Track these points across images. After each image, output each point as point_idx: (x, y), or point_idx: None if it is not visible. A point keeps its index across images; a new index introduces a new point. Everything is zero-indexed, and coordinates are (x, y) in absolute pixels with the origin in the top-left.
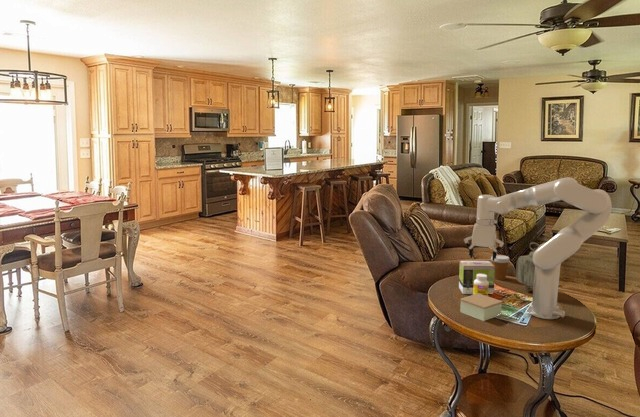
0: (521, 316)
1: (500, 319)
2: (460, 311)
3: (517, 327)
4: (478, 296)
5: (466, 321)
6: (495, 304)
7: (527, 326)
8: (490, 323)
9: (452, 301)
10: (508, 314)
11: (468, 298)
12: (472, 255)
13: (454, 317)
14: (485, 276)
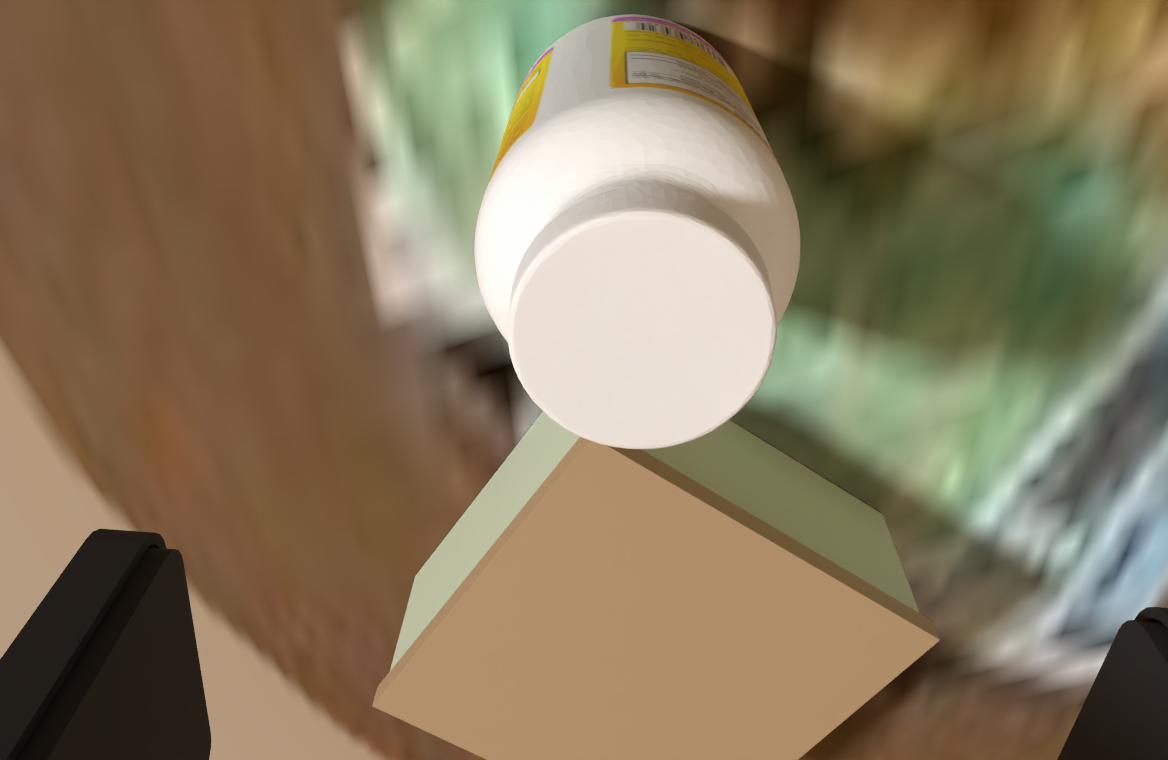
0: (1131, 487)
1: None
2: (417, 582)
3: (996, 744)
4: (605, 567)
5: None
6: (828, 724)
7: None
8: None
9: (239, 272)
10: (980, 476)
11: (475, 670)
12: (169, 702)
13: None
14: (732, 411)
